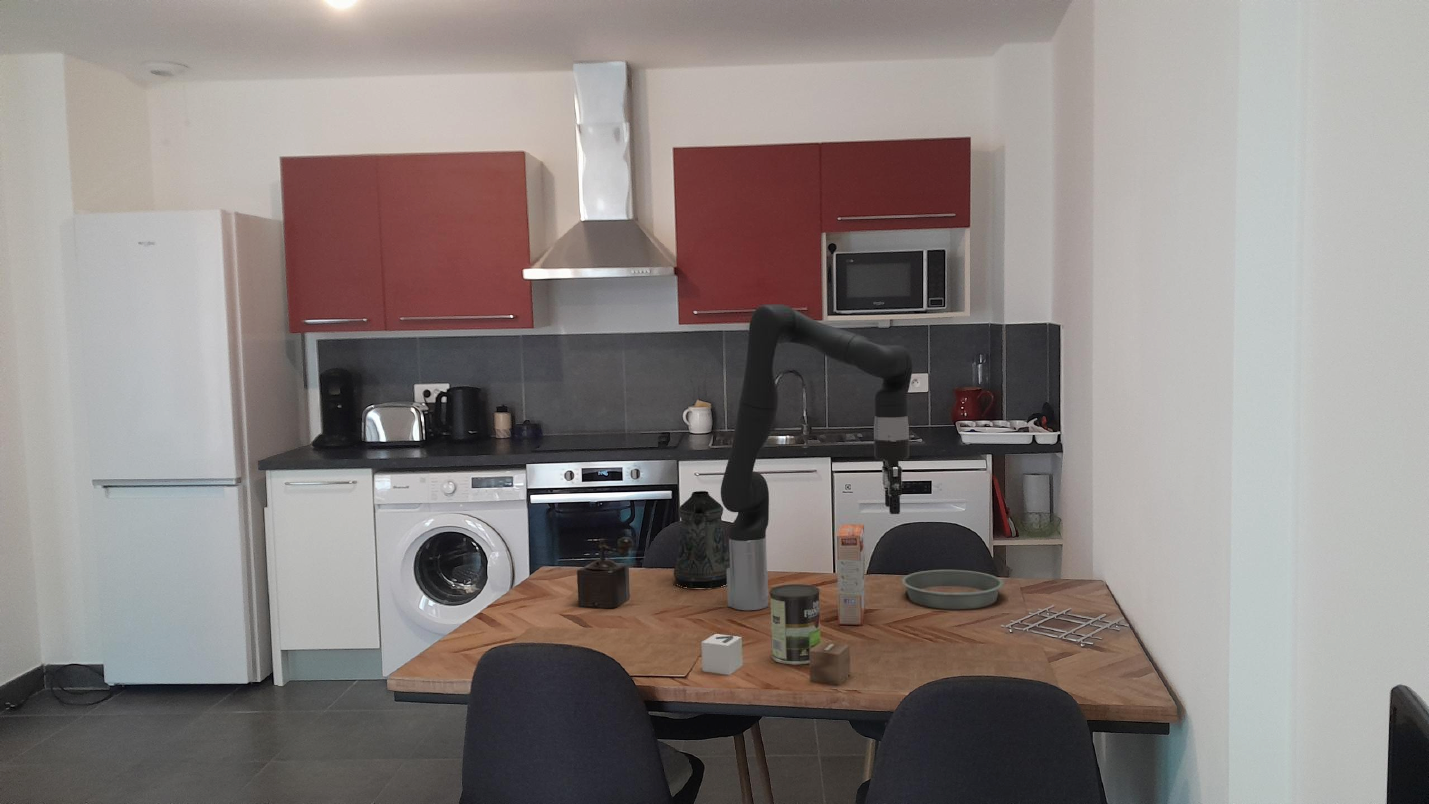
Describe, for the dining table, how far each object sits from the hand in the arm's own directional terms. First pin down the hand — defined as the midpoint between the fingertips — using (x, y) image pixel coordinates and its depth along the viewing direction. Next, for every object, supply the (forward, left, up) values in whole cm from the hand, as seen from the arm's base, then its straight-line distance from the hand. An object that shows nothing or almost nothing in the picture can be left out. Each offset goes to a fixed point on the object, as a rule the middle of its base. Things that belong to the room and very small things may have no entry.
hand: (892, 510), depth 215 cm
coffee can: (-14, -24, -28) cm, 39 cm away
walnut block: (-3, -33, -28) cm, 43 cm away
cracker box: (-13, +7, -28) cm, 31 cm away
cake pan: (+4, +32, -28) cm, 43 cm away
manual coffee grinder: (-74, -3, -28) cm, 79 cm away
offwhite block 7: (-25, -36, -28) cm, 51 cm away
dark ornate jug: (-61, +23, -28) cm, 71 cm away
